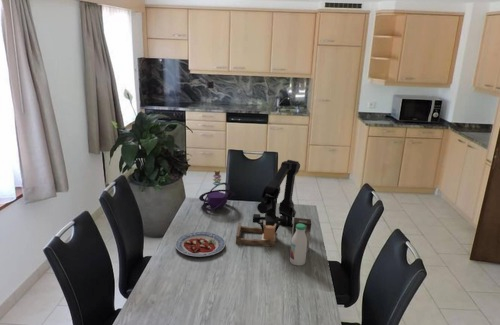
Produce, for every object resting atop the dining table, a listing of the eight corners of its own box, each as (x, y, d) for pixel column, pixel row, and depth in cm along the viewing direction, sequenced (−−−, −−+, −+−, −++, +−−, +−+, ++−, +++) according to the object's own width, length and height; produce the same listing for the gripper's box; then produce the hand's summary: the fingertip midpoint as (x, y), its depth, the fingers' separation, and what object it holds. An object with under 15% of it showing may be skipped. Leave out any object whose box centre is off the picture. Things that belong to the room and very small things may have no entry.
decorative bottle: (229, 200, 262) (230, 165, 254) (237, 212, 242) (238, 175, 235) (197, 202, 255) (197, 166, 248) (202, 215, 236) (202, 176, 229)
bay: (274, 232, 218) (275, 225, 217) (275, 246, 203) (275, 238, 202) (238, 229, 219) (238, 222, 218) (235, 243, 204) (236, 235, 203)
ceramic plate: (180, 263, 183) (180, 258, 182) (171, 238, 206) (171, 233, 205) (231, 255, 192) (231, 250, 191) (217, 232, 215) (217, 227, 214)
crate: (274, 233, 214) (275, 223, 212) (274, 239, 206) (275, 229, 205) (263, 232, 214) (264, 222, 213) (263, 239, 207) (263, 229, 205)
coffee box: (290, 250, 200) (293, 222, 195) (290, 244, 206) (293, 217, 201) (308, 251, 199) (311, 223, 195) (308, 246, 205) (310, 218, 201)
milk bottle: (306, 259, 192) (310, 223, 186) (303, 267, 185) (307, 230, 179) (291, 256, 194) (294, 220, 188) (287, 264, 187) (291, 226, 181)
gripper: (252, 212, 198) (251, 239, 203) (288, 214, 197) (286, 241, 202) (253, 203, 209) (252, 229, 213) (288, 206, 208) (285, 232, 213)
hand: (269, 233), depth 210 cm, fingers closed on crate, 6 cm apart
